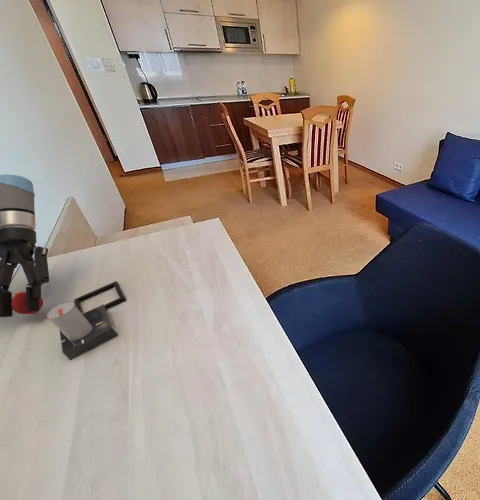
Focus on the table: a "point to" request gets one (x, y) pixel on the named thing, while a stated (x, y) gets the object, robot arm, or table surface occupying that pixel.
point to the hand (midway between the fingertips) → (19, 313)
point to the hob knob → (70, 321)
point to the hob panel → (91, 333)
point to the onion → (22, 303)
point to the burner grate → (98, 291)
